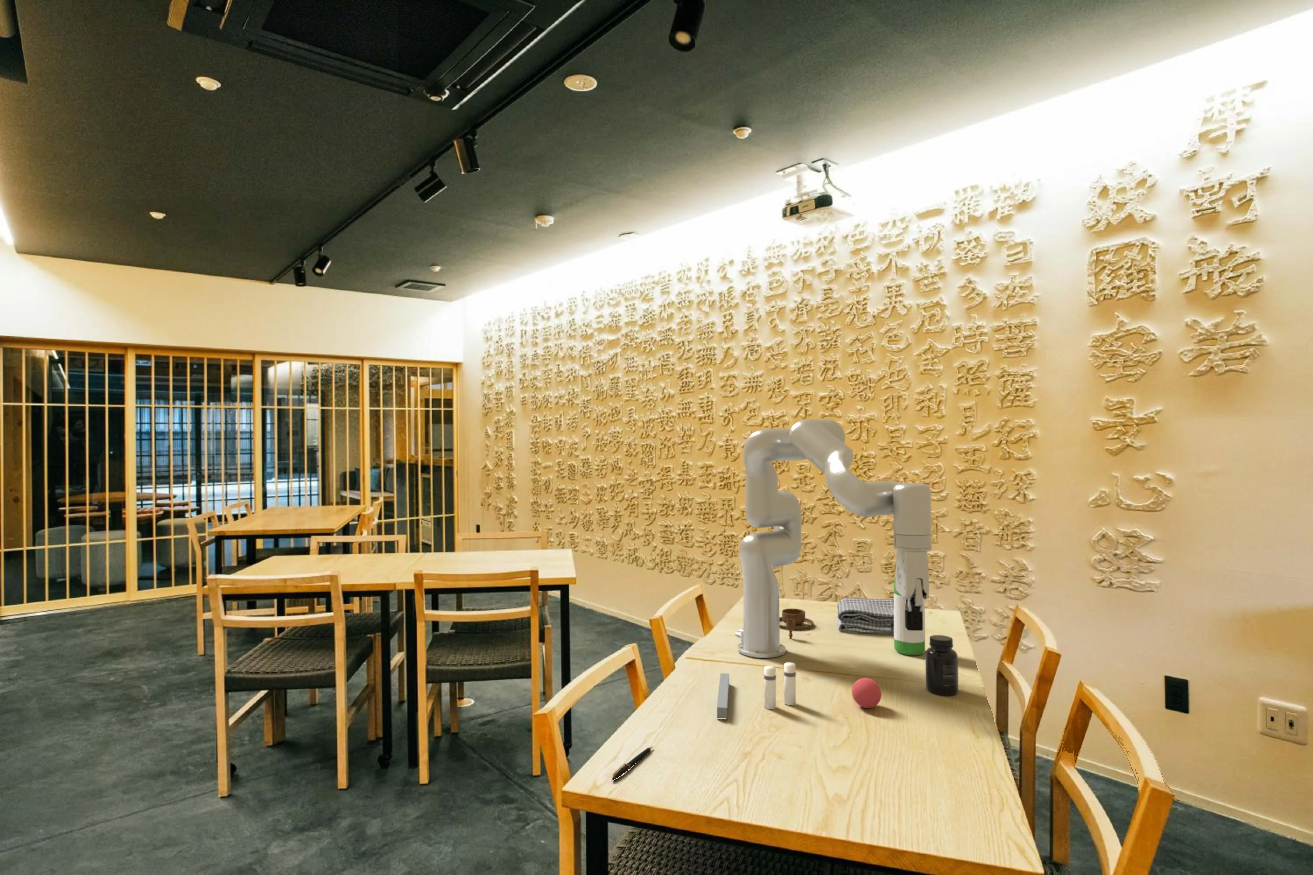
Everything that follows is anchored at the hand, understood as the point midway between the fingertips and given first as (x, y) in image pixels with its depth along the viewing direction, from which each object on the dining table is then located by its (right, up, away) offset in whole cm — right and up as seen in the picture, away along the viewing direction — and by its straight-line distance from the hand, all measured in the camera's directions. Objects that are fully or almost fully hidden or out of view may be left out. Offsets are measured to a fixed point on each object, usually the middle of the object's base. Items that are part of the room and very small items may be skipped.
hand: (913, 629), depth 144 cm
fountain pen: (-58, -18, -23) cm, 65 cm away
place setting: (-15, -18, +61) cm, 65 cm away
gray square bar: (-39, -17, +6) cm, 43 cm away
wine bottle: (+13, -17, +38) cm, 43 cm away
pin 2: (-25, -17, +4) cm, 31 cm away
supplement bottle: (+10, -17, +10) cm, 22 cm away
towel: (+9, -17, +61) cm, 64 cm away
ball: (-10, -14, +2) cm, 17 cm away
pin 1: (-30, -17, +2) cm, 35 cm away
